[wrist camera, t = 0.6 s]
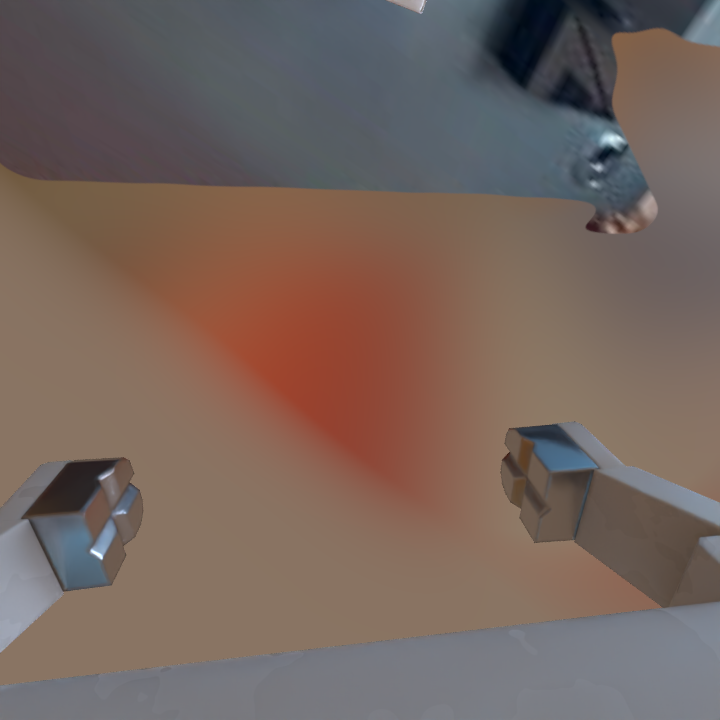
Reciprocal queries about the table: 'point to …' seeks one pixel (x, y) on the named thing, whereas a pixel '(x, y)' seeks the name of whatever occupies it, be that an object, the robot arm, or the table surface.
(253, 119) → the table surface
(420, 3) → the ink box
